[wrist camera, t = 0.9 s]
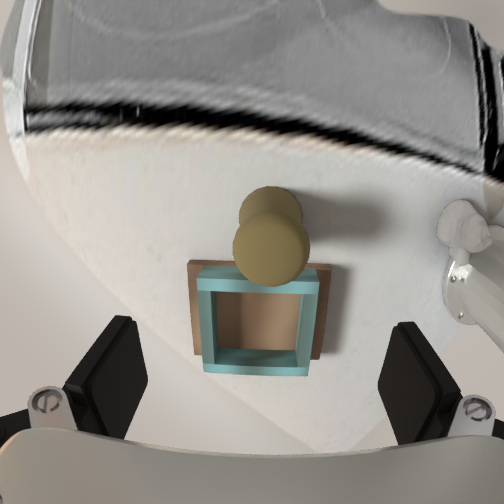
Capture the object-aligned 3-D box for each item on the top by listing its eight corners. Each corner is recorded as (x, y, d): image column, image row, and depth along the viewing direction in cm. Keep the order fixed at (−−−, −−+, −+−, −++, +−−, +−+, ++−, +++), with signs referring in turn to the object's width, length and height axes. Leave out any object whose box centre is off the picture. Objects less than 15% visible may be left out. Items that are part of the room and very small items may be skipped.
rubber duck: (471, 196, 28) (516, 214, 21) (465, 254, 31) (504, 282, 23) (431, 195, 29) (473, 213, 21) (426, 256, 31) (463, 287, 23)
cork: (299, 182, 29) (315, 204, 19) (305, 244, 31) (322, 295, 21) (234, 190, 30) (215, 216, 20) (243, 251, 32) (231, 304, 21)
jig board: (329, 264, 32) (337, 281, 28) (318, 353, 35) (322, 376, 31) (189, 259, 32) (179, 276, 28) (196, 348, 36) (188, 371, 32)
